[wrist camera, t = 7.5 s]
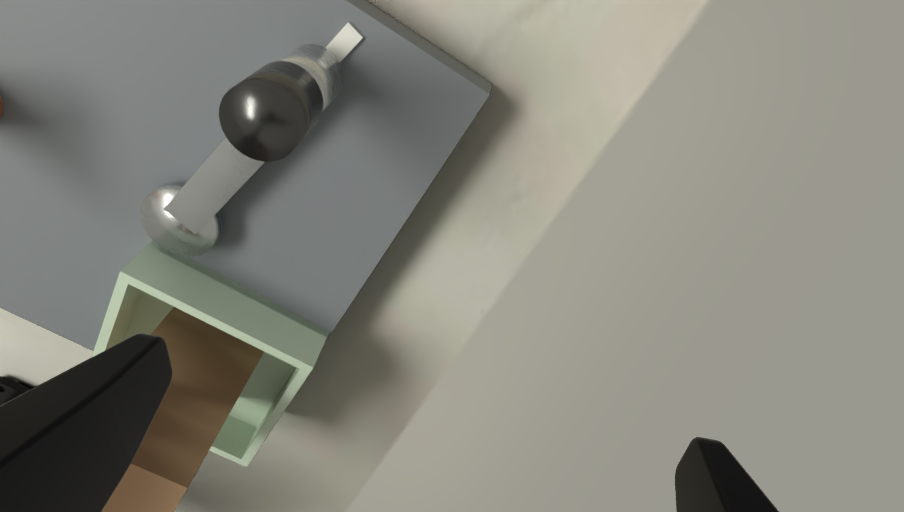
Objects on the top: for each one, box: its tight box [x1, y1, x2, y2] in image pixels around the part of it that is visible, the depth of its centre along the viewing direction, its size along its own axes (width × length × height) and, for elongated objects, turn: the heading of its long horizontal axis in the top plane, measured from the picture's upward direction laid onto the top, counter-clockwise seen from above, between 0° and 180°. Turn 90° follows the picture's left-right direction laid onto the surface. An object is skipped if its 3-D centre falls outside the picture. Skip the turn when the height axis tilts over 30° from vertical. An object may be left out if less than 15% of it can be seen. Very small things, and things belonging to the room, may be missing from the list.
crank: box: [140, 44, 343, 257], centre depth 18 cm, size 10×3×5 cm, turn 134°
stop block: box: [101, 307, 265, 512], centre depth 22 cm, size 4×4×7 cm
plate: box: [0, 0, 492, 351], centre depth 20 cm, size 20×16×5 cm
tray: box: [92, 240, 330, 467], centre depth 24 cm, size 8×8×2 cm
